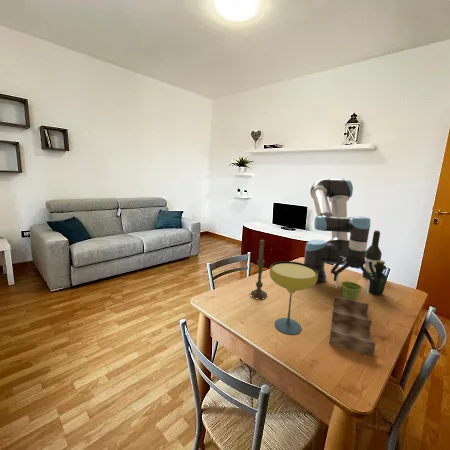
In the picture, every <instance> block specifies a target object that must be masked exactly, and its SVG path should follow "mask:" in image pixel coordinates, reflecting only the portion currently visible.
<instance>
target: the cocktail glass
mask: <svg viewBox="0 0 450 450" xmlns="http://www.w3.org/2000/svg"><path fill="white" fill-rule="evenodd" d="M269 278H271V281H273V282H274V283H275V284H276V285H277V286H279V287H282V288H283V289H285V290H286V291H287V292H288V293H289V302H288V303H289V304H288V311H287V317H280V318H278V319H276V320H275V321H274V328H275V329H276V330H277V331H279V332H281V333H282V334H285V335H293V336H294V335H298V334H299V333H300V332H302V329H303V328H302V325H301V324H300V323H299V322H298V321H296V320H294V319H292V318H291V304H292V297H293V294H294V293H296V292H297V291H304V290H307V289H311V288H313V287H314V286H315V285H316V284H317V283H316V282H317V278H318V274H317V271H316V270H315V269H314V268H312V267H311V266H308V265H306V264H304V263H301V262H298V261H297V262H296V261H288V260H287V261H286V260H284V261H277V262H273V263H272V264H271V265H270V267H269Z"/></svg>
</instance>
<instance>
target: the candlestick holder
mask: <svg viewBox="0 0 450 450" xmlns="http://www.w3.org/2000/svg"><path fill="white" fill-rule="evenodd" d="M264 251H265V240H264V239H260V240H259V249H258V260H257V261H256V263H257V265H256V266H257V267H258V268H257V269H258V271H257V273H258V278H257V282H255V286H256V289H253V290H252V292H251V291H250V292H251V295H252V297H254V298H258V299H262V300H264V299H263V298H266V297H267V298H268V296H267V295H268V293H267V292H266V291H264V290H263V289H262V287H263V286H264V285H263V282H262V275H263V268H264V266H265V262H266V261H265V260H264ZM252 297H251V298H252ZM254 298H253V299H254ZM267 298H266V299H267ZM258 299H257V300H258Z"/></svg>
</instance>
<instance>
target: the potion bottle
mask: <svg viewBox="0 0 450 450" xmlns="http://www.w3.org/2000/svg"><path fill="white" fill-rule="evenodd" d="M385 264H386V261H384V260H377V264H374V267H375V268H376V272H375V274H376V277H377V280H378V281H377V282H376V281H374V282H373V284H372V288H369V292H368V293H370V294H372V295H375V296H382V295H383V294H384V290H385V288H386V284H387V280H388V277H387V275H386V274H384V270H387V267H386V265H385ZM370 276H371V277H372V278H374V277H373V275H372V273H370Z"/></svg>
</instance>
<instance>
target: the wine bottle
mask: <svg viewBox="0 0 450 450" xmlns="http://www.w3.org/2000/svg"><path fill="white" fill-rule="evenodd" d="M380 237H381V232H380V230H374V231H373V235H372V240H371V241H372V242H371V245H370V246H368V248H366V250H365V251H366V255H365V261H369V260H371V261H372V267H373V269H374V272H376V268H375V267H374V264H377V260H381V259H382V255H383V254H382V251H381V249H380V247H379V242H380V239H381V238H380ZM381 261H382V260H381ZM363 266H364V268H365V269H366V271H367V272H368V273H369V275H370V273H372V272H371V270H370V267H369V266H368V265H367V264H366V263H365V264H364V265H363ZM362 274H363V276H362V277H363V278H364V279H367V280H369V279H368V278H367V276H366V275H365V273H364V272H363V271H362Z"/></svg>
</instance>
